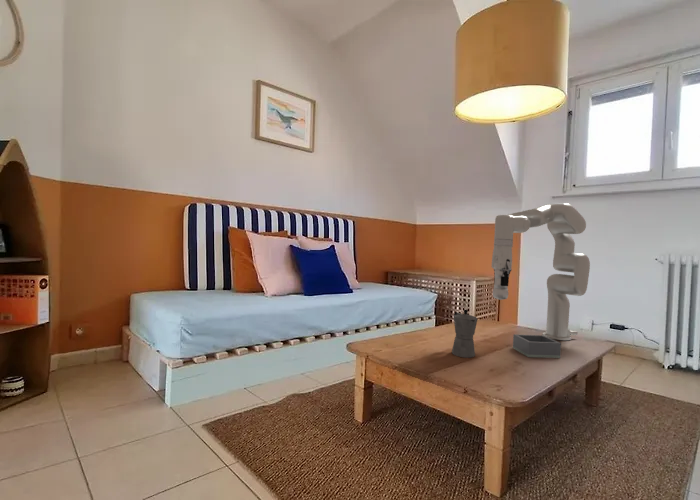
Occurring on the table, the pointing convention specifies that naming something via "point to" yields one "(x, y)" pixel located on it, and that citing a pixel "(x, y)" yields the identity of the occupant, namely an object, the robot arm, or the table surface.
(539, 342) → the grey open box
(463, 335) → the coffeepot
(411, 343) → the table surface
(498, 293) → the plastic bottle
